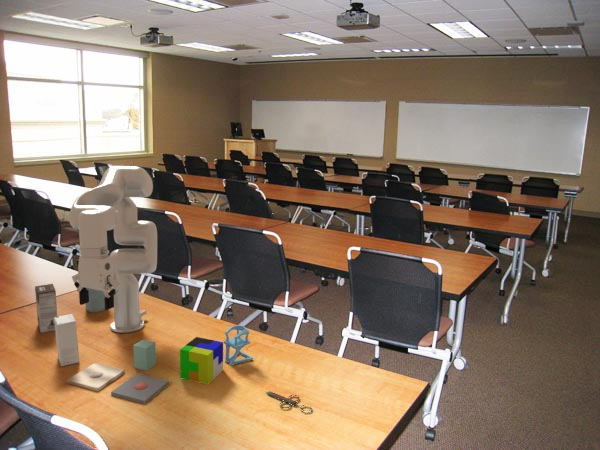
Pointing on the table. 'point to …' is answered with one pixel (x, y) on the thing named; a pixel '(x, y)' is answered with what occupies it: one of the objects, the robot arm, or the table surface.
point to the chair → (237, 344)
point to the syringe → (284, 399)
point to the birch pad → (95, 376)
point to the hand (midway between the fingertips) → (96, 305)
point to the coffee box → (46, 307)
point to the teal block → (144, 354)
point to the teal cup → (96, 300)
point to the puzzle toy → (201, 360)
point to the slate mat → (140, 388)
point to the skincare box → (66, 339)
